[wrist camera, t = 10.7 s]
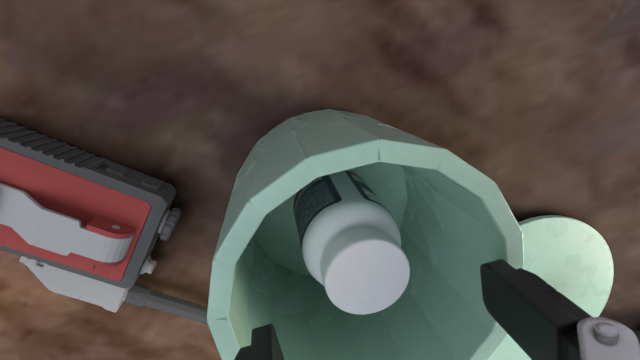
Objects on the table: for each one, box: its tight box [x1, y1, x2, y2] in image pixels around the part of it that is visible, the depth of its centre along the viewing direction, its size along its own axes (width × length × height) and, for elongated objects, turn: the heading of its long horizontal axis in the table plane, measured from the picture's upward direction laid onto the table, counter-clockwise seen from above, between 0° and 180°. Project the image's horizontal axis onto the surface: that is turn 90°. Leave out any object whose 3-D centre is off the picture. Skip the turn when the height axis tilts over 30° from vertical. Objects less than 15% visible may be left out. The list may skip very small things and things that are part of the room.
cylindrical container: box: [207, 109, 525, 360], centre depth 19 cm, size 13×13×12 cm
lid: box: [487, 215, 614, 360], centre depth 27 cm, size 14×14×6 cm
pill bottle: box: [293, 170, 410, 315], centre depth 20 cm, size 5×5×9 cm
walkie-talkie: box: [0, 118, 208, 325], centre depth 21 cm, size 9×4×20 cm
